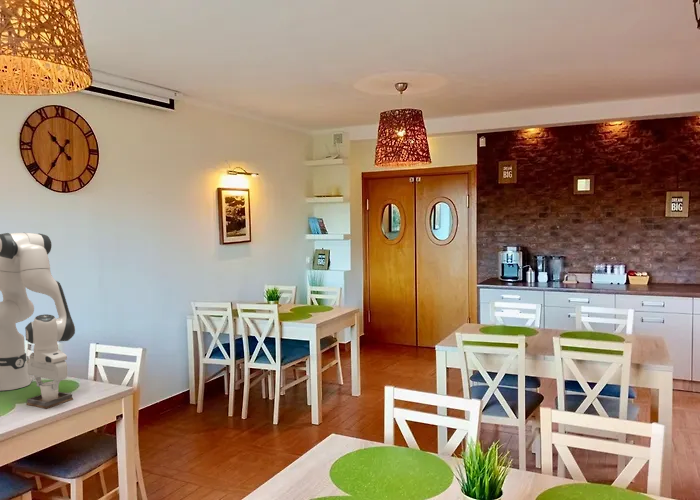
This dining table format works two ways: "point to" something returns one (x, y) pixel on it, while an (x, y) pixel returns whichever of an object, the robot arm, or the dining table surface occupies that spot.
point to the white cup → (48, 391)
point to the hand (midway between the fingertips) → (47, 388)
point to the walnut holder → (38, 401)
